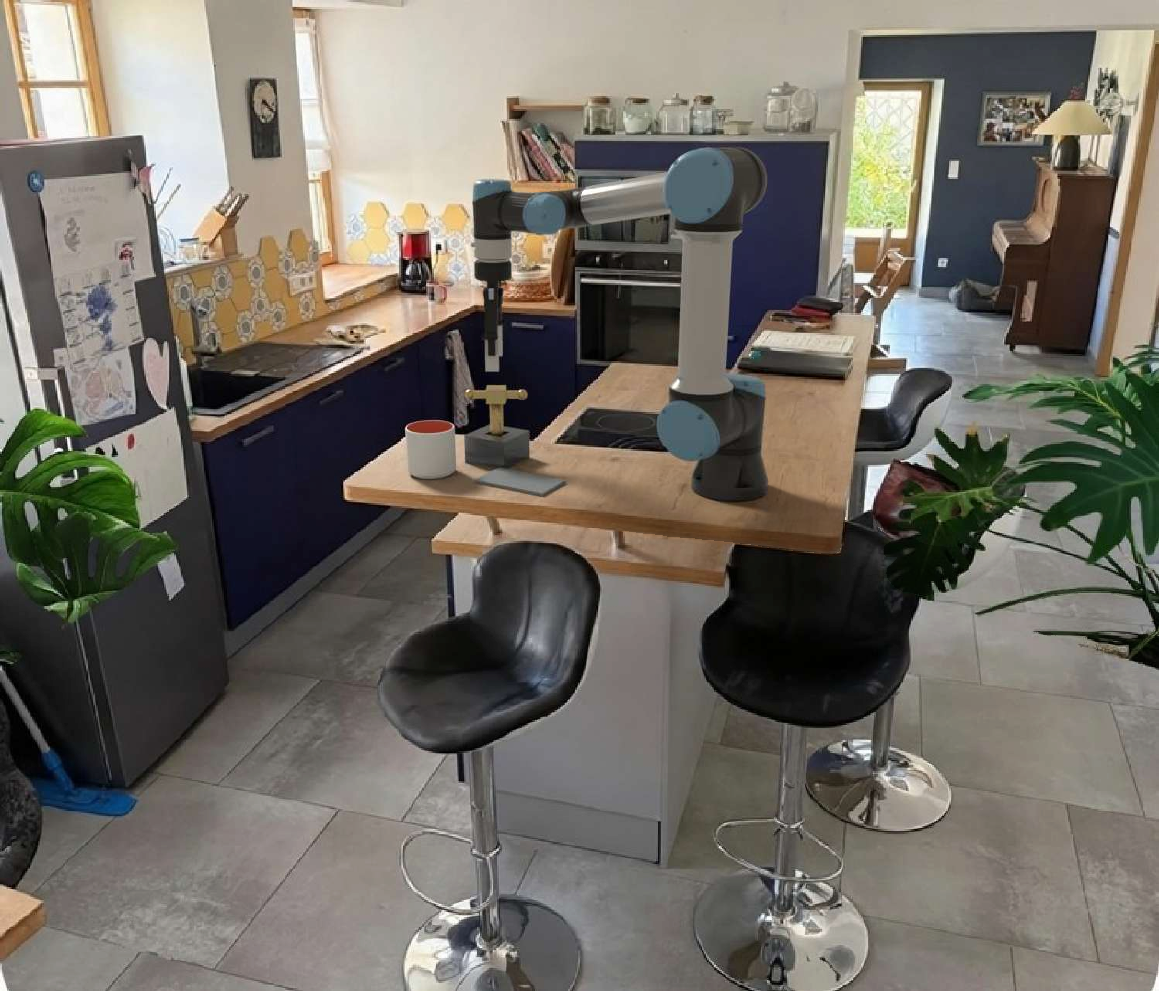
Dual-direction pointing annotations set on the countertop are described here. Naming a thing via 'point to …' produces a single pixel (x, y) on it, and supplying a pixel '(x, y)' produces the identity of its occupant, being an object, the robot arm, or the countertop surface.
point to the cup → (430, 449)
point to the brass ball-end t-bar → (496, 403)
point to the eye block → (496, 447)
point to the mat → (520, 481)
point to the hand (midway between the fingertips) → (494, 363)
